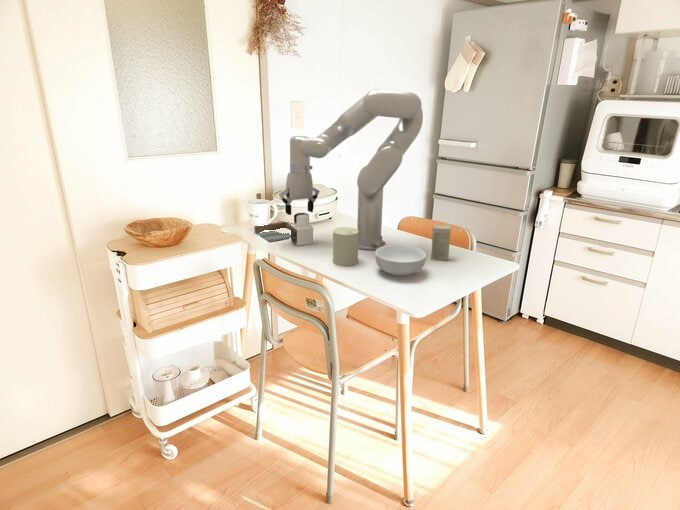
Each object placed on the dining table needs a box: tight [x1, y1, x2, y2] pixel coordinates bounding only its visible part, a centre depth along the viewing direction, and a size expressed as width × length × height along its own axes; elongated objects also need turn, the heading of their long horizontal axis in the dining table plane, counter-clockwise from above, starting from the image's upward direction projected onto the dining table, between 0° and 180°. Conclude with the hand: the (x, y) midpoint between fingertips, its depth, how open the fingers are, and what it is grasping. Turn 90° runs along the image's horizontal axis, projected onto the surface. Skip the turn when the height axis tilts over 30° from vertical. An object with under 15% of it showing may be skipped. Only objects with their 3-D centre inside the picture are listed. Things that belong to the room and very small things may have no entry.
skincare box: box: [430, 224, 451, 262], centre depth 160 cm, size 6×4×12 cm
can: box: [332, 226, 359, 267], centre depth 157 cm, size 9×9×12 cm
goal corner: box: [253, 220, 293, 243], centre depth 188 cm, size 16×16×3 cm
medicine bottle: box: [290, 212, 314, 247], centre depth 176 cm, size 7×7×12 cm
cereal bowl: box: [374, 244, 427, 277], centre depth 148 cm, size 17×17×7 cm
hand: (299, 212), depth 174 cm, fingers open, 9 cm apart
